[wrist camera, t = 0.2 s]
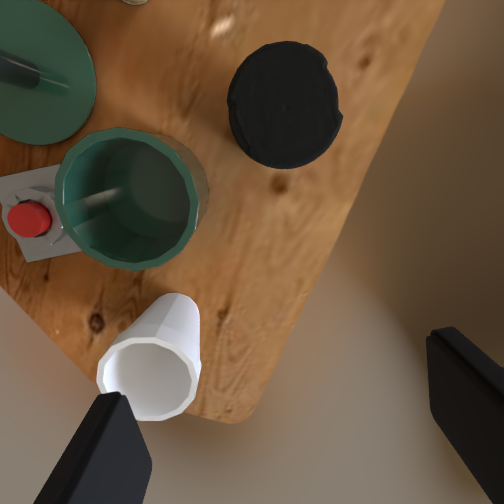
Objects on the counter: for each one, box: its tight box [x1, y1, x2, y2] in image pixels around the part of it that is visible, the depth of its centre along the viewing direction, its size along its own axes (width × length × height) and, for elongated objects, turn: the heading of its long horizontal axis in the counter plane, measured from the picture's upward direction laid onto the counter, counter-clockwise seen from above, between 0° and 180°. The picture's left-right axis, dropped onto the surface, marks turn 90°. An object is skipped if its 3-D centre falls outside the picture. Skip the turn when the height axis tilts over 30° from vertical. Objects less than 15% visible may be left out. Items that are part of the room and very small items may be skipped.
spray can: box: [227, 41, 343, 169], centre depth 28 cm, size 7×7×20 cm
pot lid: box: [0, 0, 97, 145], centre depth 32 cm, size 14×14×7 cm
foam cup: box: [96, 293, 201, 421], centre depth 37 cm, size 10×9×13 cm
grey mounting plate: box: [0, 164, 82, 262], centre depth 38 cm, size 10×8×3 cm
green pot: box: [55, 127, 209, 271], centre depth 34 cm, size 13×13×10 cm
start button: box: [7, 202, 51, 238], centre depth 36 cm, size 4×4×2 cm
